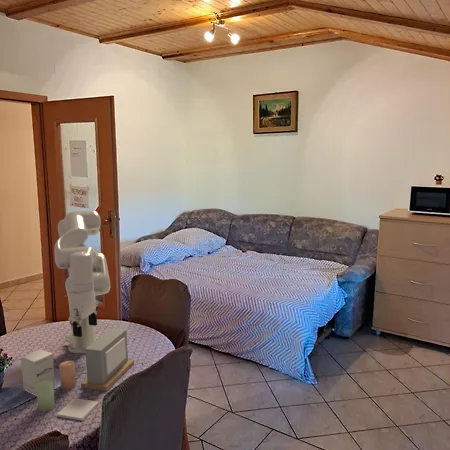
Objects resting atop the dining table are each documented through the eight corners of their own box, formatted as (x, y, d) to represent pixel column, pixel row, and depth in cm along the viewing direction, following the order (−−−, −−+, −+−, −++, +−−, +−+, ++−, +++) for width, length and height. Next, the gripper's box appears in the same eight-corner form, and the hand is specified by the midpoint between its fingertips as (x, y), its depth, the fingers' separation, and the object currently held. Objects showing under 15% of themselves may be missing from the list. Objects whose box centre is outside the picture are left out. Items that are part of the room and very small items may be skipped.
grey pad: (57, 416, 131) (56, 414, 131) (74, 400, 139) (74, 398, 139) (82, 420, 128) (82, 418, 128) (98, 404, 137) (98, 401, 137)
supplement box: (36, 397, 141) (33, 362, 139) (23, 391, 145) (20, 356, 143) (55, 387, 147) (53, 353, 145) (42, 381, 151) (39, 348, 149)
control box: (81, 387, 147) (78, 349, 145) (110, 360, 166) (108, 326, 164) (106, 391, 144) (104, 352, 142) (134, 363, 164) (132, 329, 161)
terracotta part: (57, 388, 147) (56, 366, 145) (66, 381, 151) (65, 360, 150) (70, 390, 145) (68, 368, 144) (79, 382, 150) (77, 361, 149)
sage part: (34, 410, 134) (32, 387, 133) (45, 401, 139) (43, 379, 137) (48, 412, 133) (46, 389, 131) (58, 403, 137) (56, 380, 136)
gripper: (87, 277, 161) (89, 320, 165) (58, 293, 145) (62, 339, 148) (104, 279, 160) (107, 322, 163) (77, 295, 143) (80, 342, 146)
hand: (85, 330), depth 156 cm, fingers open, 9 cm apart
